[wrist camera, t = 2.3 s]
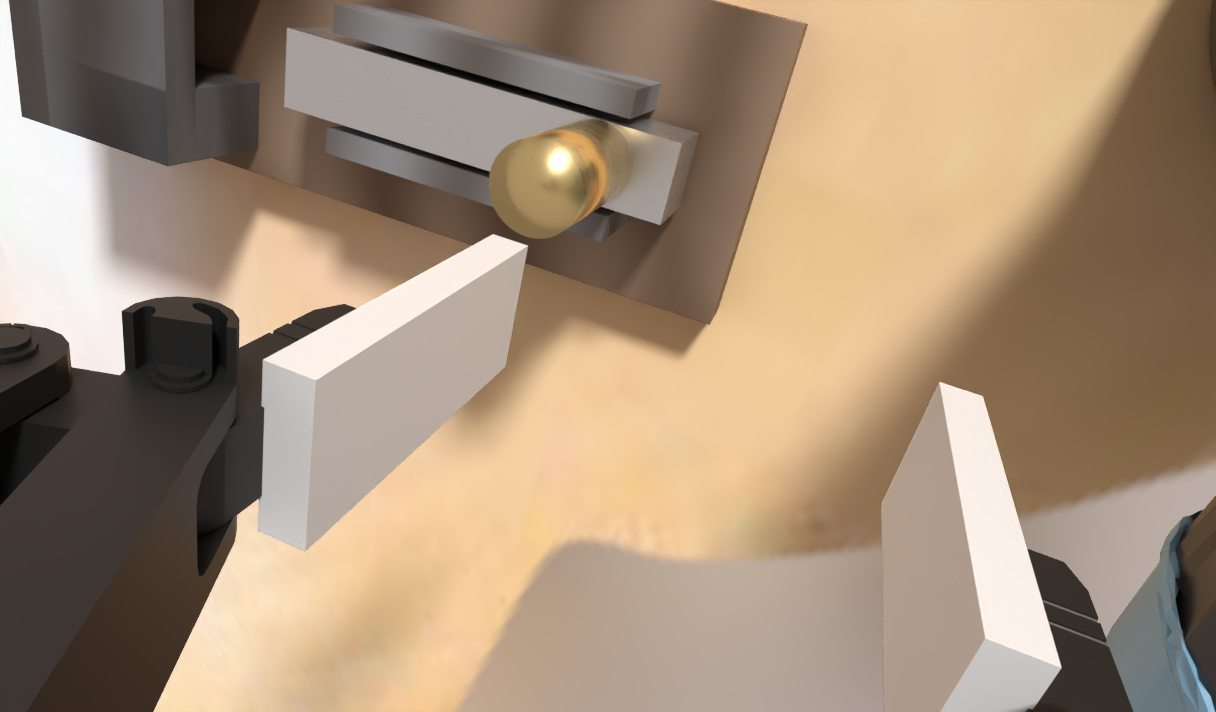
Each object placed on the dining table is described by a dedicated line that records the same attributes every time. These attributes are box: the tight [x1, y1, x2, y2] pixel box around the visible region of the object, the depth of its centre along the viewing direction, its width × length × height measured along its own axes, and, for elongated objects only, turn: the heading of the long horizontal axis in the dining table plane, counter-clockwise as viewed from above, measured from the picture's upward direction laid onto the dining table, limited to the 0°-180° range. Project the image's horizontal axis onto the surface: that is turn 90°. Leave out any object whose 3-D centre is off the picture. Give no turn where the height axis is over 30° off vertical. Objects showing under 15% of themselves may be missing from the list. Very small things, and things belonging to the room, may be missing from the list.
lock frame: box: [9, 0, 808, 325], centre depth 32 cm, size 30×12×7 cm, turn 74°
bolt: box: [284, 27, 699, 239], centre depth 28 cm, size 16×3×8 cm, turn 74°
